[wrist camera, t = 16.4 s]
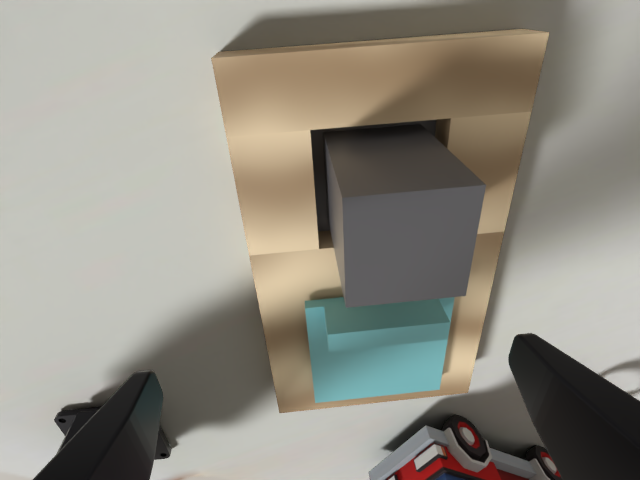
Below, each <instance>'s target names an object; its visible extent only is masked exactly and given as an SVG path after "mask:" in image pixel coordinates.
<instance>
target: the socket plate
mask: <svg viewBox="0 0 640 480" xmlns="http://www.w3.org/2000/svg"><path fill="white" fill-rule="evenodd" d="M548 37H549V32H543V31H536V30H528V29H513V30H500V31H487V32H473V33H460V34H447V35H434V36H421V37H408V38H395V39H382V40H368V41H355V42H342V43H329V44H316V45H303V46H290V47H276V48H263V49H250V50H237V51H224V52H218V53H217V54H216V55H215V56H213V57H212V58H211V59H212V64H213V69H214V74H215V80H216V85H217V90H218V95H219V100H220V106H221V111H222V116H223V121H224V127H225V132H226V137H227V142H228V147H229V153H230V158H231V163H232V168H233V173H234V179H235V184H236V189H237V194H238V199H239V205H240V210H241V215H242V220H243V225H244V231H245V236H246V241H247V246H248V251H249V257H250V262H251V267H252V272H253V277H254V283H255V288H256V293H257V298H258V303H259V309H260V314H261V319H262V324H263V329H264V335H265V340H266V345H267V350H268V355H269V361H270V366H271V371H272V376H273V381H274V387H275V392H276V397H277V402H278V407H279V413H286V412H295V411H304V410H313V409H322V408H332V407H341V406H350V405H359V404H369V403H378V402H387V401H396V400H405V399H415V398H424V397H433V396H442V395H452V394H461V393H468V390H469V386H470V381H471V377H472V372H473V368H474V364H475V359H476V355H477V350H478V346H479V341H480V337H481V333H482V328H483V324H484V319H485V315H486V311H487V306H488V302H489V297H490V293H491V288H492V284H493V280H494V275H495V271H496V266H497V262H498V257H499V253H500V249H501V244H502V240H503V235H504V231H505V227H506V222H507V218H508V213H509V209H510V204H511V200H512V196H513V191H514V187H515V182H516V178H517V174H518V169H519V165H520V160H521V156H522V151H523V147H524V143H525V138H526V134H527V129H528V125H529V121H530V116H531V112H532V107H533V103H534V98H535V94H536V90H537V85H538V81H539V76H540V72H541V68H542V63H543V59H544V54H545V50H546V45H547V41H548ZM414 124H421V125H422V126H423V127H424V128H425V129H427V130H428V131H429V132H430V133H431V134H432V135H433V136H434V137H435V138H436V139H437V140H438V141H439V142H441V143H442V144H443V145H444V146H445V147H446V148H447V149H448V150H449V151H450V152H451V153H452V154H453V155H455V156H456V157H457V158H458V159H459V160H460V161H461V162H462V163H463V164H464V165H465V166H466V167H467V168H469V169H470V170H471V171H472V172H473V173H474V174H475V175H476V176H477V177H478V178H479V179H480V180H481V181H483V182H484V183H485V184H486V189H485V194H484V200H483V205H482V211H481V216H480V221H479V227H478V232H477V238H476V243H475V249H474V254H473V259H472V265H471V270H470V276H469V281H468V287H467V292H466V296H461V297H455V298H454V305H453V311H452V317H451V323H450V329H449V335H448V341H447V347H446V353H445V360H444V366H443V372H442V378H441V384H440V390H432V391H422V392H413V393H404V394H395V395H385V396H376V397H367V398H358V399H348V400H339V401H330V402H320V403H315V396H314V387H313V378H312V368H311V359H310V350H309V341H308V331H307V322H306V313H305V301H309V300H319V299H329V298H339V297H344V296H343V291H342V286H341V281H340V276H339V271H338V266H337V261H336V256H335V251H334V246H333V241H332V236H331V231H330V226H329V221H328V210H327V192H326V174H325V156H324V138H323V132H330V131H342V130H354V129H366V128H378V127H390V126H402V125H414Z"/></svg>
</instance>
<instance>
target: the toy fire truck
mask: <svg viewBox="0 0 640 480" xmlns="http://www.w3.org/2000/svg"><path fill="white" fill-rule="evenodd" d="M526 460H527V461H526ZM526 460H523V459H521V458H518V457H515V456H512V455H509V454H506V453H503V452H501V451H498V450H495V449H492V448H489V445H488V441H487V440H483V438H482V437H481V435H480V434H479V432H478V431H477V429H476V428H475V426H474V425H473V424H472V423H470V422H469V421H468V420H467V419H466V418H464V417H461V416H459V415H453V416H452V417H451V418H449V419H448V420H447V421H446V422H445V423H444V426H443V429H442V431H441V430H438V429H435V428H432V427H429V426H427V425H425V426H424V427H423V428H422V429H421V430H419V431H418V432H417V433H416V434H414V435H413V436H412V437H411V438H410V439H408V440H407V441H406V442H405V443H403V444H402V445H401V446H400V447H399V448H397V449H396V450H395V451H394V452H393V453H391V454H390V455H389V456H388V457H386V458H385V459H384V460H383V461H382V462H380V463H379V464H378V465H377V466H375V467H374V468H373V469H372V470H371V471H369V477H370V480H563V479H562V477H561V476H560V474H559V472H558V470H557V468H556V466H555V464H554V462H553V460H552V459H551V457H550V455H549V453H548V451H547V450H546V449H545V448H543V447H540V446H534V447H533V448H531V449H530V450H528V451H527V452H526Z"/></svg>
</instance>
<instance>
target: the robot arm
mask: <svg viewBox="0 0 640 480" xmlns="http://www.w3.org/2000/svg"><path fill="white" fill-rule="evenodd" d="M509 365H510V368H511V371H512V373H513V375H514V378H515V380H516V383H517V385H518V388H519V390H520V393H521V395H522V398H523V400H524V403H525V405H526V408H527V410H528V412H529V415H530V417H531V419H532V422H533V424H534V426H535V428H536V430H537V432H538V434H539V436H540V438H541V440H542V442H543V443H544V445H545V447H546V449H547V451H548V453H549V455H550V457H551V459H552V460H553V462H554V464H555V466H556V468H557V470H558V472H559V474H560V476H561V477H562V479H563V480H640V401H639V400H637V399H636V398H634V397H633V396H631V395H629V394H628V393H626V392H625V391H623V390H622V389H620V388H618V387H617V386H615V385H614V384H612V383H611V382H609V381H607V380H606V379H604V378H603V377H601V376H600V375H598V374H596V373H595V372H593V371H592V370H590V369H589V368H587V367H585V366H584V365H582V364H581V363H579V362H578V361H576V360H575V359H573V358H571V357H570V356H568V355H567V354H565V353H564V352H562V351H560V350H559V349H557V348H556V347H554V346H553V345H551V344H549V343H548V342H546V341H545V340H543V339H542V338H540V337H538V336H537V335H535V334H532V333H528V334H518V335H516V336H515V338H514V340H513V344H512V347H511V350H510V354H509ZM162 403H163V393H162V389H161V387H160V384H159V382H158V379H157V377H156V374H155V373H154V372H153V371H152V370H147V371H138V372H135V373H134V374H132V375H131V376H130V377H129V379H128V380H127V381H126V382H125V383H124V384H123V385H122V386H121V387H120V388H119V389H118V390H117V391H116V392H115V393H114V394H113V395H112V396H111V397H110V399H109V400H108V401H107V402H106V403H105V404H104V405H103V406H102V407H97V408H88V409H78V410H69V411H61V412H59V413H57V415H56V417H55V419H54V420H55V422H56V424H57V425H58V427H59V428H60V429H61V431H62V432H63V433H64V435H65V438H64V440H63V442H62V444H61V446H60V448H59V450H58V452H57V454H56V456H55V457H54V458H53V459H52V460H51V461H50V462H49V463H48V464H47V465H46V466H45V467H44V468H43V469H42V470H41V471H40V472H39V473H38V475H37V476H36V477H35V478H34V479H33V480H149V479H150V475H151V471H152V467H153V462H154V460H156V459H165V458H168V457H169V456H170V454H171V448H170V446H169V444H168V442H167V440H166V438H165V435H164V433H163V431H162V429H161V427H160V425H159V423H160V417H161V410H162Z"/></svg>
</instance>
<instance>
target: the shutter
mask: <svg viewBox="0 0 640 480" xmlns="http://www.w3.org/2000/svg"><path fill="white" fill-rule="evenodd" d="M454 298H455V297H450V298H440V299H430V300H420V301H410V302H400V303H390V304H380V305H370V306H360V307H350V308H346V306H345V301H344V297H339V298H329V299H319V300H309V301H305V313H306V322H307V331H308V341H309V350H310V359H311V368H312V378H313V387H314V396H315V403H320V402H330V401H339V400H348V399H358V398H367V397H376V396H385V395H395V394H404V393H413V392H422V391H432V390H440V384H441V378H442V372H443V366H444V360H445V353H446V347H447V341H448V335H449V329H450V323H451V317H452V311H453V305H454Z"/></svg>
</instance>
